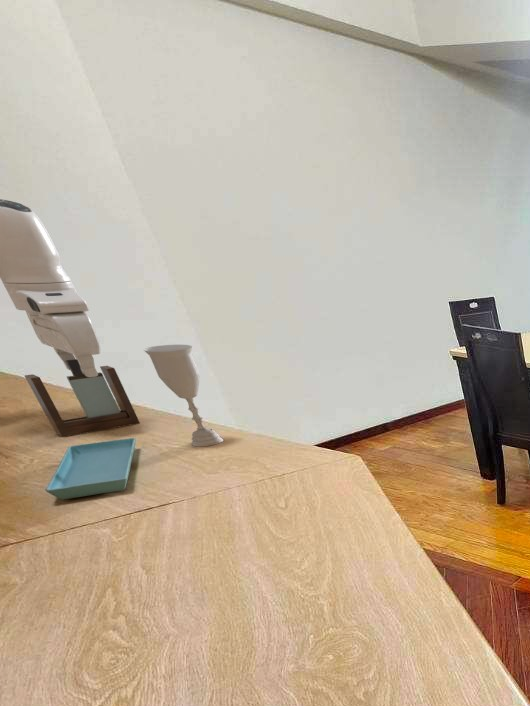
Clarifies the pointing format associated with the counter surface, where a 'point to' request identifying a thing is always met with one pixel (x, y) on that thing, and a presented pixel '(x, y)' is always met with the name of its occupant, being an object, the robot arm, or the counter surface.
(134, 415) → the window frame
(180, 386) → the chalice
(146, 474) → the counter surface
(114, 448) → the shallow long dish
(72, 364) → the window pane
